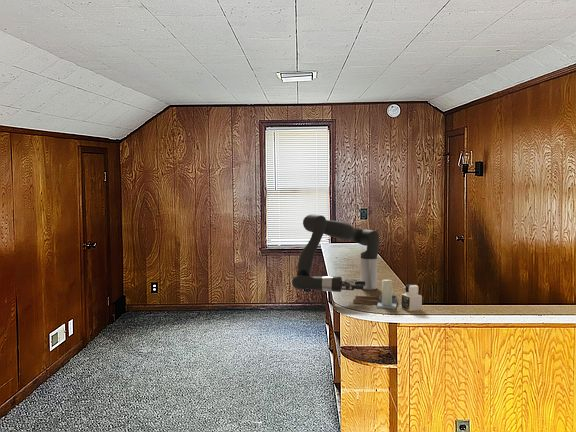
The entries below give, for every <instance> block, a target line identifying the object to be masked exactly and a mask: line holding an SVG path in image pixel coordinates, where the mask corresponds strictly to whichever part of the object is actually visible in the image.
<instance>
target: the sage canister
mask: <svg viewBox="0 0 576 432" xmlns="http://www.w3.org/2000/svg"><path fill="white" fill-rule="evenodd" d="M381 295H382V305H385V306H390V305H392V295H393V280H392V279H382V280H381Z"/></svg>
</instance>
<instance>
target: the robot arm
mask: <svg viewBox="0 0 576 432" xmlns="http://www.w3.org/2000/svg"><path fill="white" fill-rule="evenodd" d="M302 226H303V228H304V229H305V230H306V231H308V233H312V234H311V237H310V238H309V241H308V242H307V244H306V245H305V246H304V248H303V249H302V251H301V253H300V256H299V258H298V263H297V266H296V267H297V273H296V275H295V276H294V277H292V279H291V284H292V287H293V288H294V289H297V290H299V291H303V290H312V291H322V292H330V293H331V292H332V293H333V292H335V293H341V292H342V291H355V290H368V291H369V290H370V291H371V290H376V289H378V288H377V287H378V286H377V285H378V255H379V249H380V236H379V235H380V234H379V232H378V231H377V230H373V229H366V228H356V227H353V225H351V224H349V223H347V222H344V221H339V220H330V219H329V220H328V219H327V218H326V216H324V215H320V214H308V215H306V216H305V217H304V218H303V220H302ZM324 235H326V236H329V237H331V238H335V239H337V240H338V239H339V240H342V241H351V242H354V243H356V244H359V245H362V246H365V247H366V250H365V251H363V252H361V253H360V280H358V279H344V280H343V278H342V277H341V276H332V275H331V276H327V275H326V276H310V274H311V270H312V269H311V268H312V265H313V262H314V259H315V255H316V252H317V250H318V248H319V245H320V243H321V241H322V238H323V236H324Z"/></svg>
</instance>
